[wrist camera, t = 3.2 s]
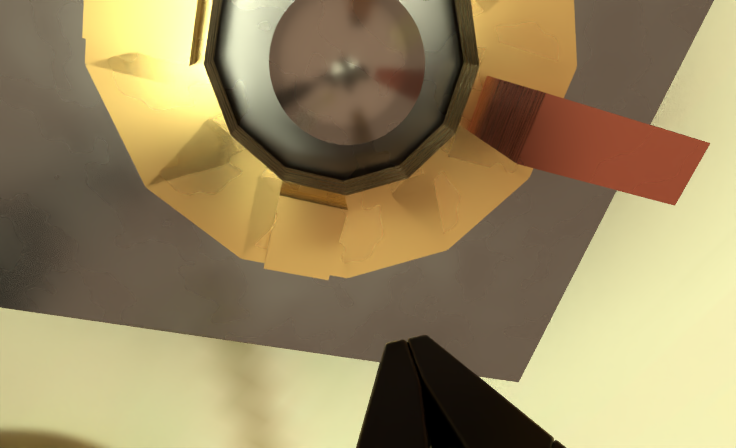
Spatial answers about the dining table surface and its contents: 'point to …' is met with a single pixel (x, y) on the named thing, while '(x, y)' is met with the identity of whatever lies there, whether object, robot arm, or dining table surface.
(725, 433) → the dining table surface
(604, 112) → the ring nut
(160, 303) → the cap plate
